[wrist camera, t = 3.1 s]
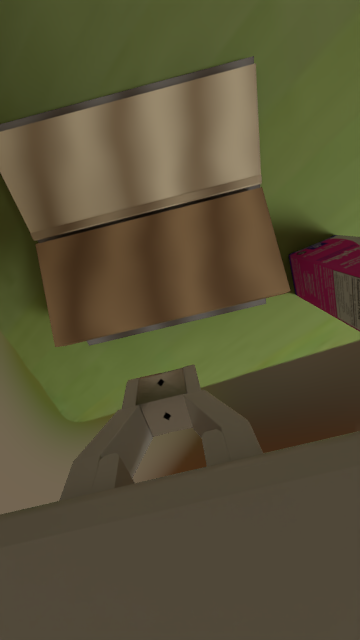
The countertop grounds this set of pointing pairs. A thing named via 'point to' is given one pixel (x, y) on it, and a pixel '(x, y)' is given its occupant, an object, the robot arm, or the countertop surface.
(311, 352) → the countertop surface
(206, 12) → the countertop surface
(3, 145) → the floor board
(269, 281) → the walnut plank
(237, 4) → the countertop surface
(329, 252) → the supplement box
